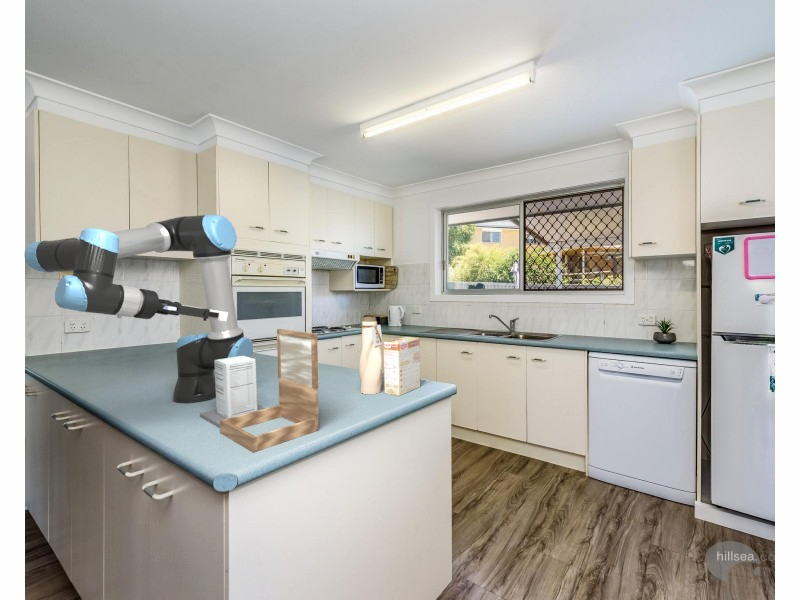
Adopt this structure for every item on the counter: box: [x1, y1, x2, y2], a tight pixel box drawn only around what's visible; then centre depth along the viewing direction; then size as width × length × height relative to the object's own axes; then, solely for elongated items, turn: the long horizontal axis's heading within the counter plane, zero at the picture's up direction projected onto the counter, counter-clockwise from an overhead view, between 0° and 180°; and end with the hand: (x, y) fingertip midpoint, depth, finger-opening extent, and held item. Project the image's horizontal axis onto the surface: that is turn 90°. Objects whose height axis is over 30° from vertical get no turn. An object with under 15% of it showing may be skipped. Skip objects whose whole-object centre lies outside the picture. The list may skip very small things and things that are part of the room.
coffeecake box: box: [383, 336, 421, 397], centre depth 148 cm, size 15×7×20 cm, turn 145°
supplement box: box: [214, 356, 258, 419], centre depth 121 cm, size 10×9×17 cm
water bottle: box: [358, 316, 384, 395], centre depth 146 cm, size 10×9×28 cm
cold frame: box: [219, 328, 320, 454], centre depth 107 cm, size 19×19×27 cm
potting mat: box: [199, 404, 266, 429], centre depth 121 cm, size 16×16×1 cm
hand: (213, 314), depth 116 cm, fingers open, 13 cm apart
